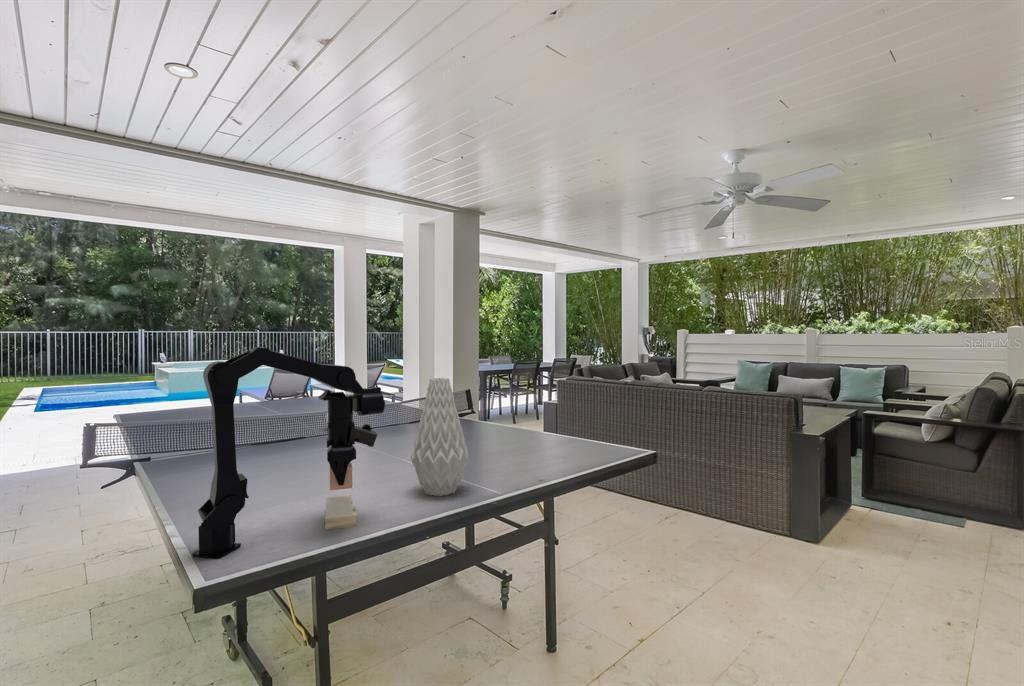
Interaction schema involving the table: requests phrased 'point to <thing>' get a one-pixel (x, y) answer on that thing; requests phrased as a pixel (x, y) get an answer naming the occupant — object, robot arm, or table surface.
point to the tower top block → (339, 506)
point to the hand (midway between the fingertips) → (340, 482)
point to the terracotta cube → (347, 481)
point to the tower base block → (341, 521)
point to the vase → (439, 441)
